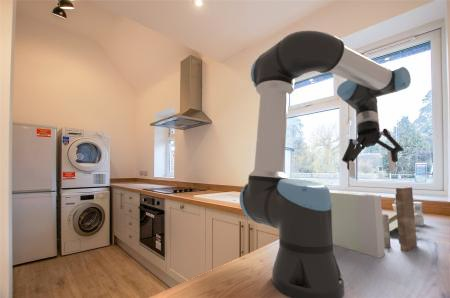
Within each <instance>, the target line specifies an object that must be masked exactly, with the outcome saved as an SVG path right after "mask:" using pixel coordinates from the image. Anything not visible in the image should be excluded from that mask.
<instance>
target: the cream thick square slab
mask: <svg viewBox="0 0 450 298" xmlns="http://www.w3.org/2000/svg"><path fill="white" fill-rule="evenodd" d="M330 199H331V203H332V208H331V210H332V237H333V246H338V247H341V248H344V249H348V250H352V251H356V252H359V253H360V254H363V255H367V256H371V257H374V258H377V259H379V258H381V257H384V255H386V251H385V250H386V249H385V248H386V247H384V233H383V219H382V214H383V209H382V195H378V194H367V193H363V194H361V193H350V192H341V191H330Z"/></svg>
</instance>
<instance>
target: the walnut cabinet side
mask: <svg viewBox="0 0 450 298" xmlns="http://www.w3.org/2000/svg"><path fill="white" fill-rule="evenodd" d="M395 192H396V193H395V194H394V195H395V201H396V209H397V222H398V232H397V233H398V243H399V245H400V251H402V252H408V251H411V250H412V249H414V248H415V247H417V246H418V242H417V229H416V228H417V227H416V225H415V216H414V204H413V202H414V195H413V187H412V186H403V187H395ZM382 219H383V233H384V247H385V248H386V249H390V248H392V246H391V235H390V233H391V231H390V230H389V217H388V214H387V213H382Z"/></svg>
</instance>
